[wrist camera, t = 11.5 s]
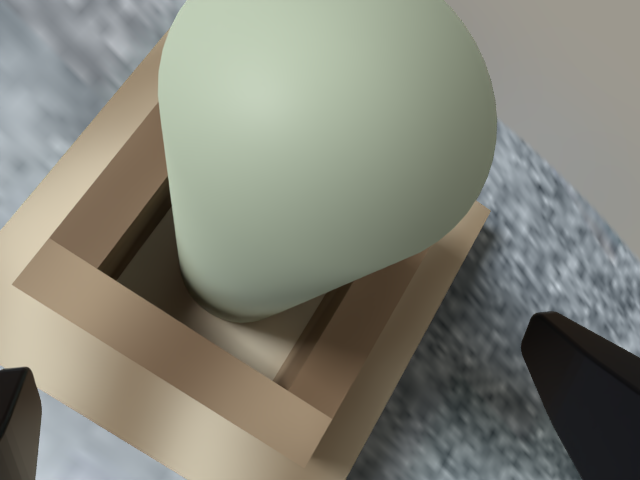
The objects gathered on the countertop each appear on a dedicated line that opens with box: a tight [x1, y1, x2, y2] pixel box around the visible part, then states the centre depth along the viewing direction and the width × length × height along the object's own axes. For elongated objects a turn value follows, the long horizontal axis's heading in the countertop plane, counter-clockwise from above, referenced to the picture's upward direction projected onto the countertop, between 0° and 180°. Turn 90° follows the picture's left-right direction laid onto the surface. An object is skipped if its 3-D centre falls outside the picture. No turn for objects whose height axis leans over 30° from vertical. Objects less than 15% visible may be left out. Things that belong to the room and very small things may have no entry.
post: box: [158, 0, 497, 323], centre depth 13 cm, size 4×4×13 cm
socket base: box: [0, 27, 491, 480], centre depth 18 cm, size 14×14×5 cm
